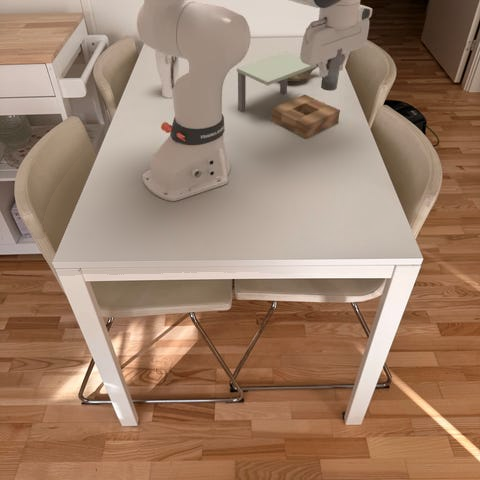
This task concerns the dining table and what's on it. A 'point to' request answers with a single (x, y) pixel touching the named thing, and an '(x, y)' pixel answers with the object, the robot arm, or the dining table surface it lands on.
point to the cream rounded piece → (167, 72)
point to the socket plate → (305, 116)
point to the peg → (332, 72)
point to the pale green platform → (270, 73)
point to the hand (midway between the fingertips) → (330, 73)
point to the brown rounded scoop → (301, 75)
